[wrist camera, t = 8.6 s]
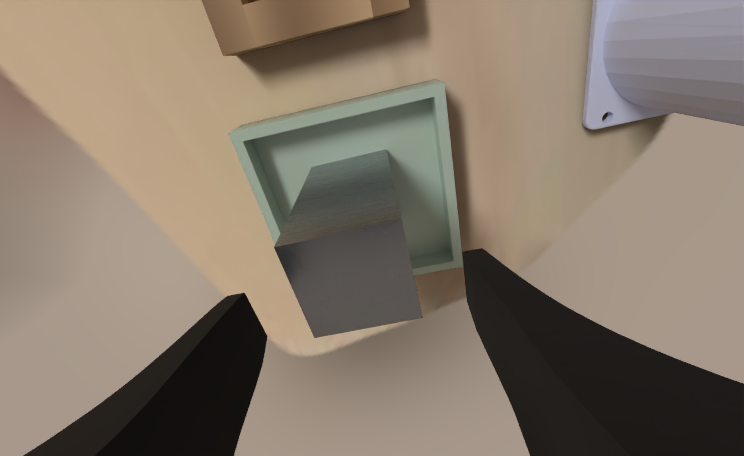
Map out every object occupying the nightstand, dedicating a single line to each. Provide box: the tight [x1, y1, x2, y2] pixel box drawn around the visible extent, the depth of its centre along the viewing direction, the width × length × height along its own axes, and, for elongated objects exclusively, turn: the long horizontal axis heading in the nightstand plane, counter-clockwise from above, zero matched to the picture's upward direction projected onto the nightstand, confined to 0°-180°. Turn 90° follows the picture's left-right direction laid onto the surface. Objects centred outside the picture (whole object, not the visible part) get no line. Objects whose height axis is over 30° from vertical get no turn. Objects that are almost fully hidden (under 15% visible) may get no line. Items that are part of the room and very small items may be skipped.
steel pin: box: [274, 149, 423, 338], centre depth 14 cm, size 4×4×8 cm
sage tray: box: [228, 79, 463, 276], centre depth 18 cm, size 10×10×2 cm
